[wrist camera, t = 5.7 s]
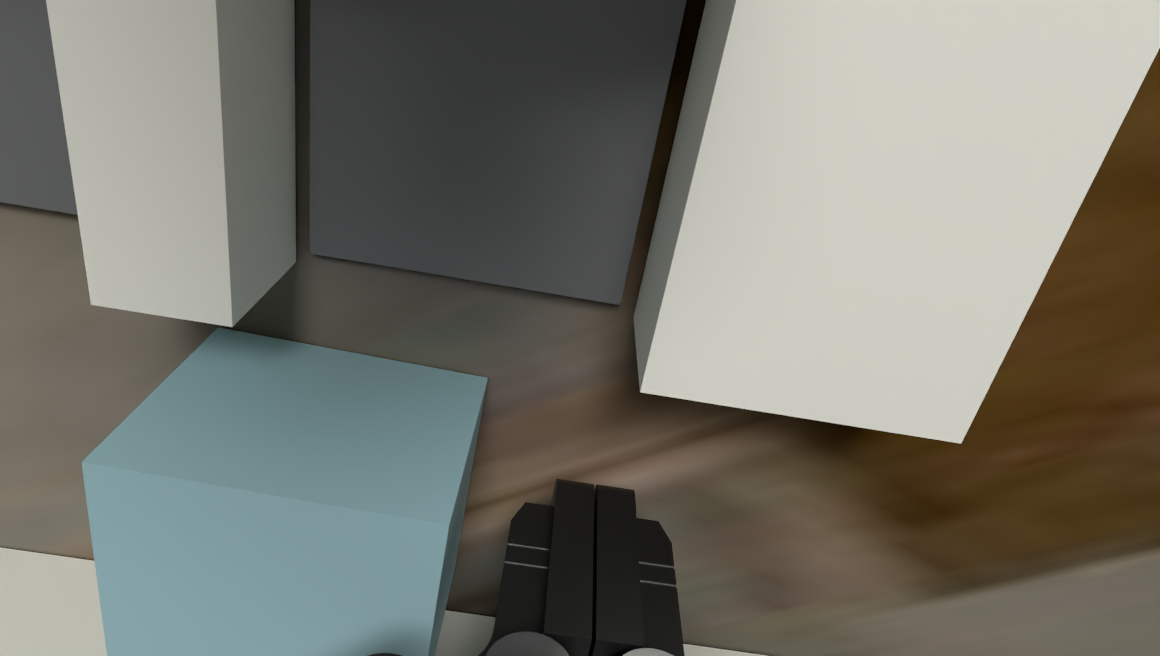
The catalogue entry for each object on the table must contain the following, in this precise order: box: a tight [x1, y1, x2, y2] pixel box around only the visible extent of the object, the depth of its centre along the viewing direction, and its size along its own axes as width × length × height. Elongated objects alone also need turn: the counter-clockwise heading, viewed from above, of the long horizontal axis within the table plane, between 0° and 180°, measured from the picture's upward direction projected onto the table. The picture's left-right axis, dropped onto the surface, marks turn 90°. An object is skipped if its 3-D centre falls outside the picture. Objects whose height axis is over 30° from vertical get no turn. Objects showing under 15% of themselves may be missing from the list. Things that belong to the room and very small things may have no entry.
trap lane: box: [0, 0, 1160, 656], centre depth 12 cm, size 25×16×2 cm, turn 80°
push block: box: [82, 327, 488, 656], centre depth 13 cm, size 5×5×4 cm
